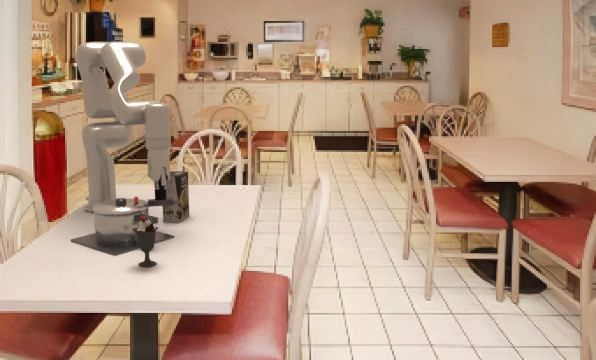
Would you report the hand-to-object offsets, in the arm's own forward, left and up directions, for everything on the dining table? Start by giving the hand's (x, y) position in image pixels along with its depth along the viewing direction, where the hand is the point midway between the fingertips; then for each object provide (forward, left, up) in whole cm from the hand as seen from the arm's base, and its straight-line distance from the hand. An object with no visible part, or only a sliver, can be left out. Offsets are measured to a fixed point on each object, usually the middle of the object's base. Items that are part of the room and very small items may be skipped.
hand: (160, 201), depth 194 cm
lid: (-3, -8, -1) cm, 9 cm away
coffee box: (-10, +15, -11) cm, 21 cm away
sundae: (+19, -21, -11) cm, 31 cm away
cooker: (-3, -11, -11) cm, 16 cm away
